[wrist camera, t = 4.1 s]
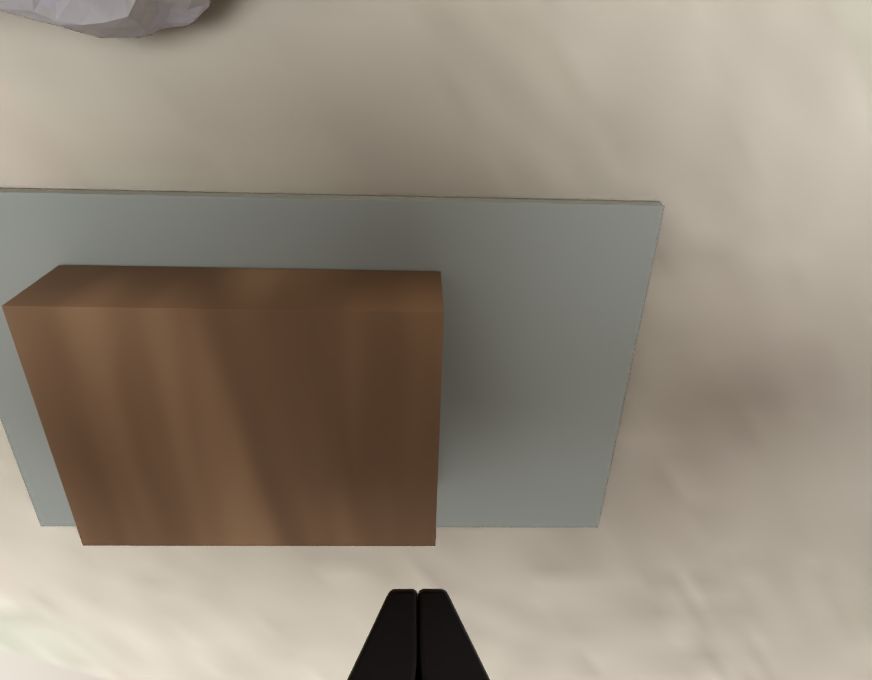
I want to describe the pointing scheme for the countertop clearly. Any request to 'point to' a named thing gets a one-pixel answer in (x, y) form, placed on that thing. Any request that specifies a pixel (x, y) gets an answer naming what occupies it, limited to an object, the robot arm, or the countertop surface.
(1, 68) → the countertop surface
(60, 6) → the stone block
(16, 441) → the rubber mat
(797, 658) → the countertop surface
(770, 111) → the countertop surface
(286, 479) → the walnut tile
